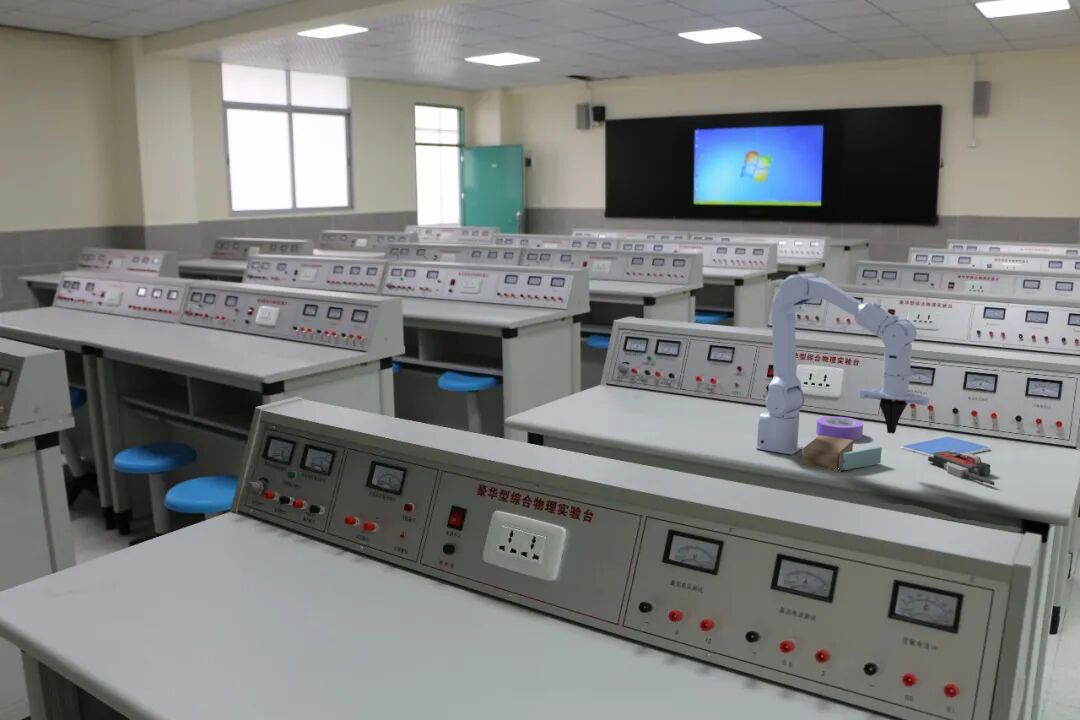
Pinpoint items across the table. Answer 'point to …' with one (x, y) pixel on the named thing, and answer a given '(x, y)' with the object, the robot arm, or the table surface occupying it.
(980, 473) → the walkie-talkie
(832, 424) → the masking tape
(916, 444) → the tablet computer
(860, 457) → the pale teal rectangular panel
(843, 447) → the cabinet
